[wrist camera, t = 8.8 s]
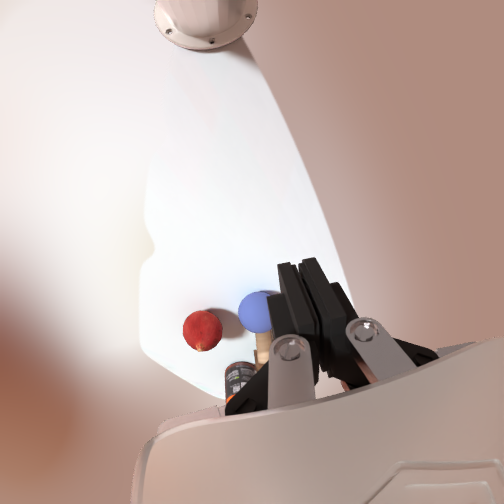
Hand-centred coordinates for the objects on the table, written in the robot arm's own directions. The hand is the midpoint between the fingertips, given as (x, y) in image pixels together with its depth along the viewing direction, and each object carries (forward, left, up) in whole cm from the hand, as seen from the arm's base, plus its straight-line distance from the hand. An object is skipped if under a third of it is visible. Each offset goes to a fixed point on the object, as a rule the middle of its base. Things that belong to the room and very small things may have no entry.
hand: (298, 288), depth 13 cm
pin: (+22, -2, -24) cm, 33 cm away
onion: (+20, -11, -26) cm, 34 cm away
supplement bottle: (+34, -8, -26) cm, 43 cm away
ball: (+19, -2, -22) cm, 29 cm away
